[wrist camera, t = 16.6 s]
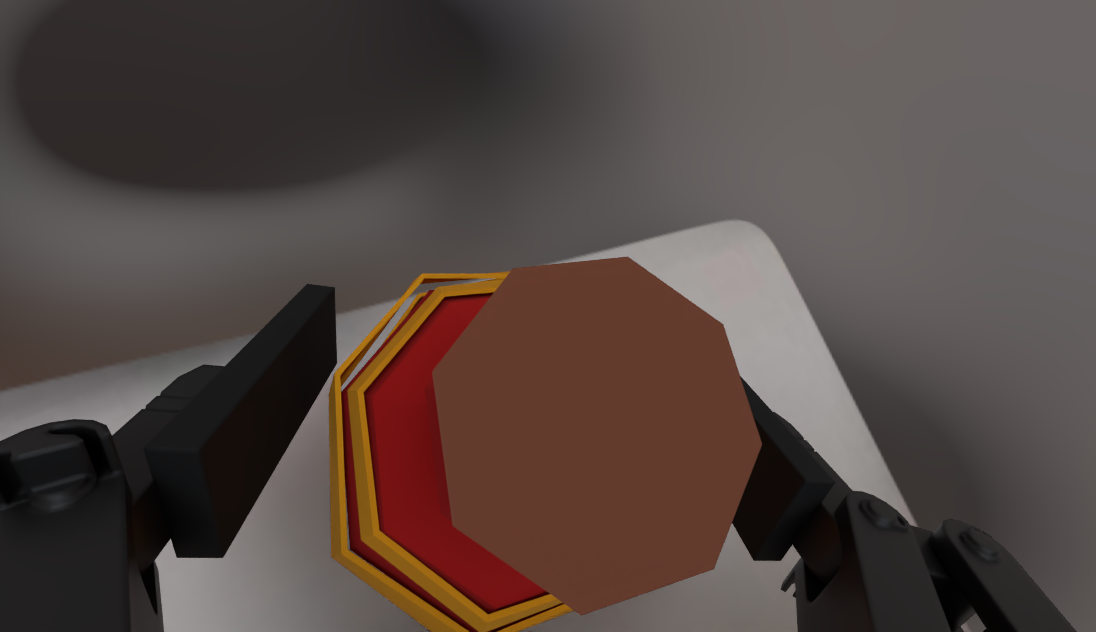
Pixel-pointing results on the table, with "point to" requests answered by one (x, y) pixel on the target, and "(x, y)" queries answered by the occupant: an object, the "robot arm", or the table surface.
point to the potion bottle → (537, 446)
